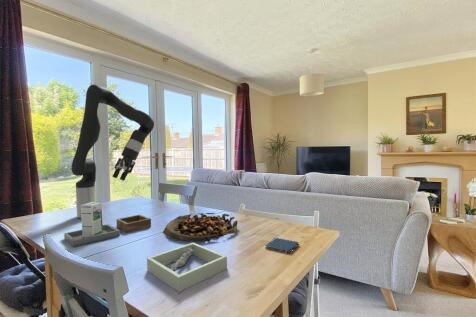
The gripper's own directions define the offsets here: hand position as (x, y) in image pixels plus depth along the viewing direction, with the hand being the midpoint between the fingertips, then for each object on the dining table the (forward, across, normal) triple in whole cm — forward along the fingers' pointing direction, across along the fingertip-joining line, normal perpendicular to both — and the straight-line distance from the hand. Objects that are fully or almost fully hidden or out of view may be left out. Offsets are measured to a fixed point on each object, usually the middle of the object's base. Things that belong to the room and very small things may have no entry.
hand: (118, 178), depth 128 cm
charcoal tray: (+28, +9, -3) cm, 29 cm away
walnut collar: (+19, +8, +14) cm, 25 cm away
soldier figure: (+21, +61, +4) cm, 65 cm away
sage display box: (+20, +65, +3) cm, 68 cm away
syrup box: (+27, +8, -3) cm, 29 cm away
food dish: (+10, +37, +30) cm, 49 cm away
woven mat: (+4, +78, +35) cm, 86 cm away
